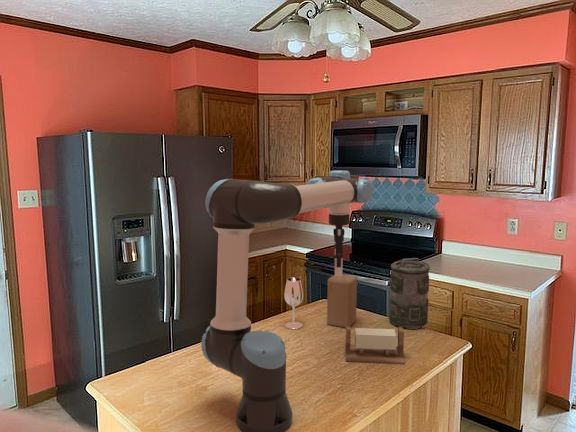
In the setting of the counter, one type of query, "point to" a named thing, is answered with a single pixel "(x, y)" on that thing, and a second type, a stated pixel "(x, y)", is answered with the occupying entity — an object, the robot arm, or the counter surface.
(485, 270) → the counter surface
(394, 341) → the cream rectangular block
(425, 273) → the canister
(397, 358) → the peg frame
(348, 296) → the block
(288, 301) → the wineglass
